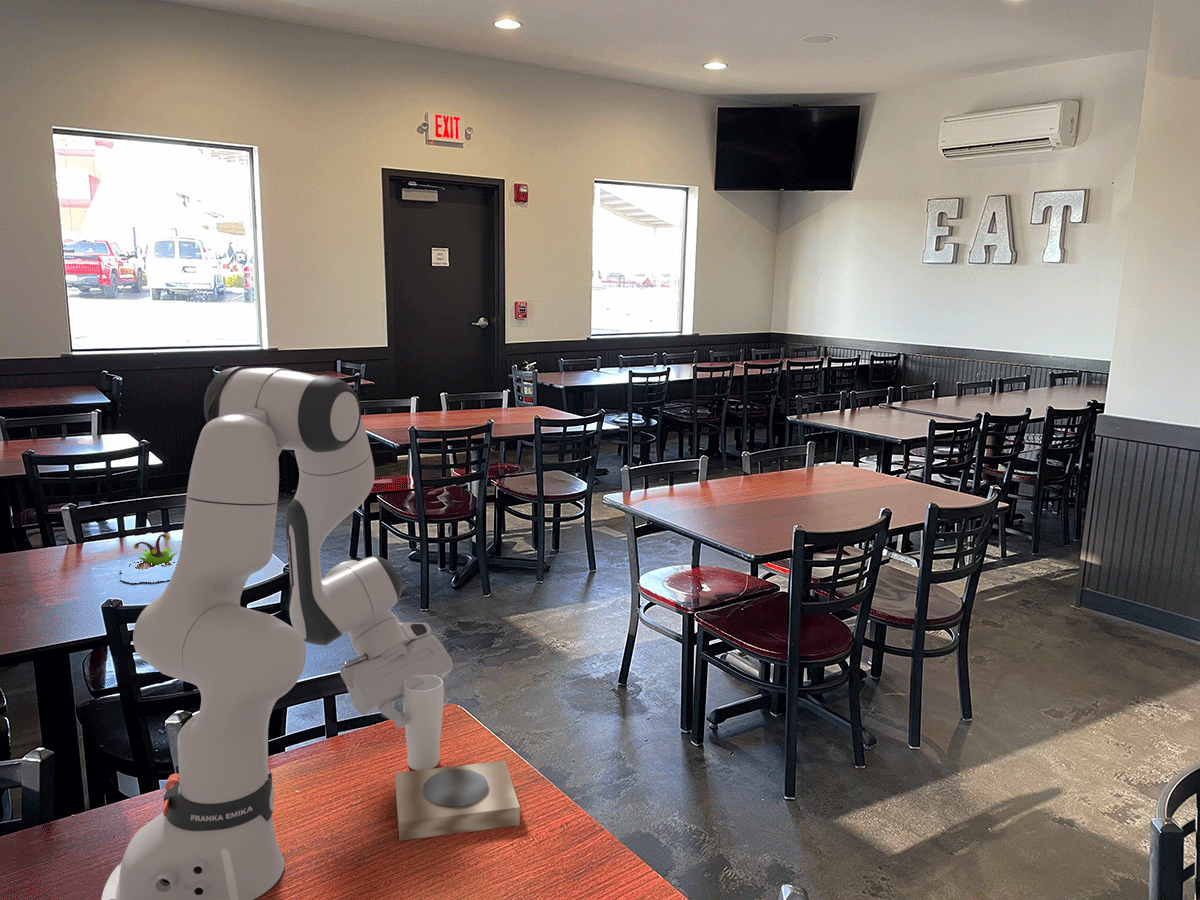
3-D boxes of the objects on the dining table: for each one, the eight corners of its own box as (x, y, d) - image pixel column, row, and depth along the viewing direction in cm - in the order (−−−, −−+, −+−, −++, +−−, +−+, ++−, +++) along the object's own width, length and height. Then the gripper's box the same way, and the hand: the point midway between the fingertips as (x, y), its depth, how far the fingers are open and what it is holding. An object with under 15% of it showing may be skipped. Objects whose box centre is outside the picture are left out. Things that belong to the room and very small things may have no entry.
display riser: (399, 840, 130) (399, 818, 129) (395, 789, 143) (395, 769, 143) (519, 825, 135) (520, 803, 134) (504, 777, 148) (505, 757, 147)
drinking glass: (434, 777, 147) (434, 693, 145) (396, 771, 149) (395, 688, 146) (449, 757, 154) (449, 676, 151) (412, 752, 155) (412, 672, 153)
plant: (200, 579, 244) (198, 540, 242) (120, 588, 234) (117, 547, 232) (195, 559, 261) (193, 523, 259) (120, 567, 252) (117, 529, 250)
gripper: (344, 656, 143) (387, 730, 139) (434, 620, 160) (474, 685, 156) (327, 675, 146) (368, 747, 143) (416, 638, 163) (455, 702, 159)
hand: (424, 714), depth 149 cm, fingers open, 8 cm apart
